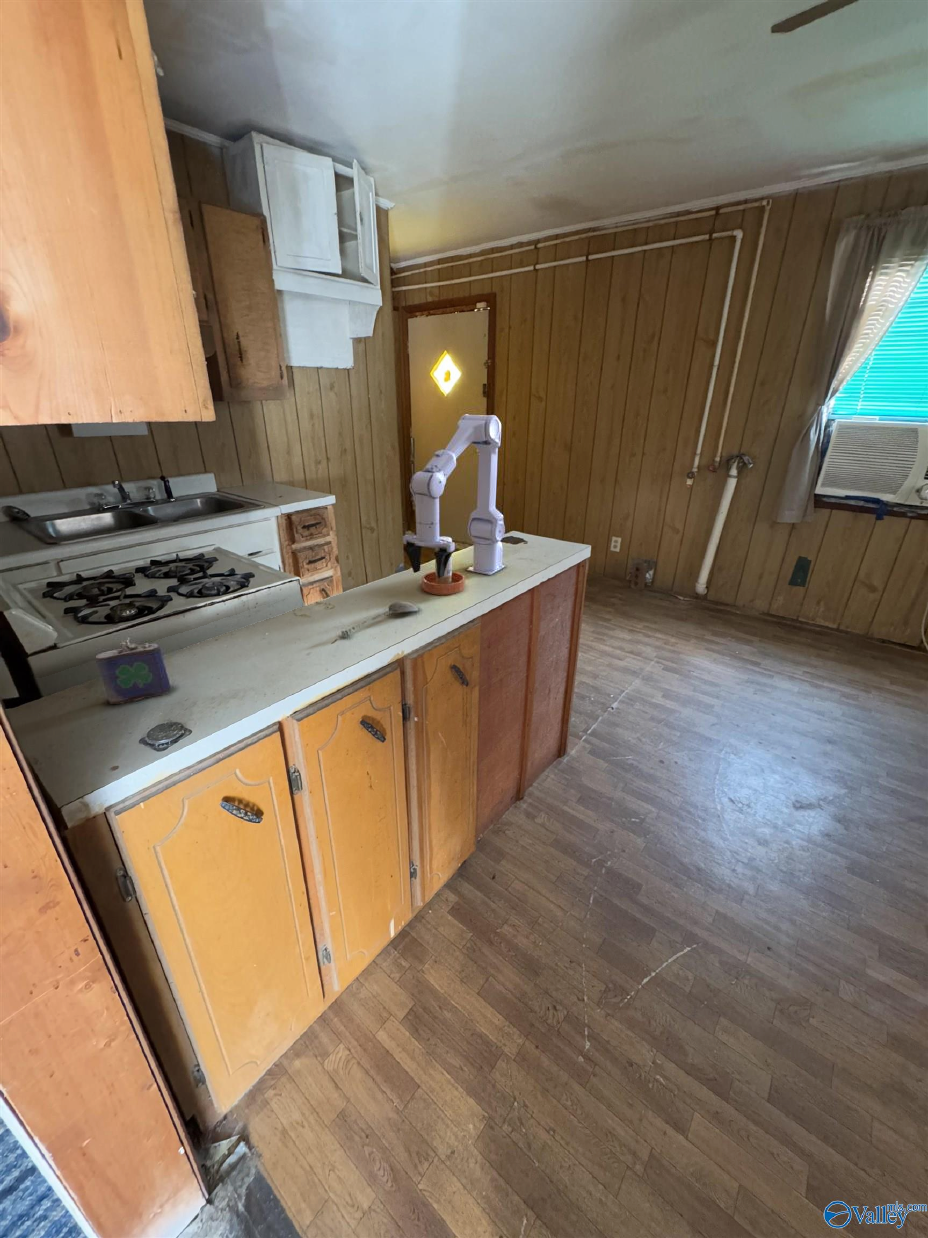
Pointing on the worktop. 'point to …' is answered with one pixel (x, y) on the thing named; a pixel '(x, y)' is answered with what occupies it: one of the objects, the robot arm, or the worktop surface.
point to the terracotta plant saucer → (443, 589)
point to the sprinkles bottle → (448, 572)
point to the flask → (133, 672)
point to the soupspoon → (393, 608)
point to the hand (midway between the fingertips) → (428, 574)
